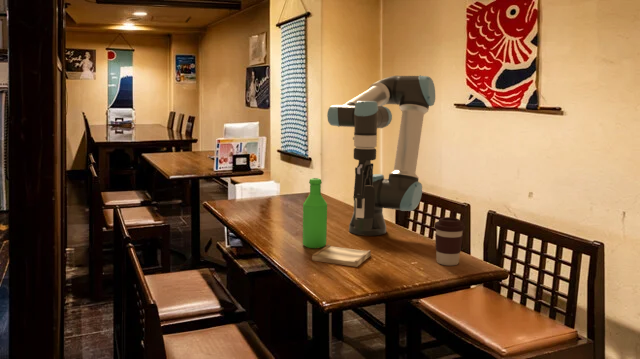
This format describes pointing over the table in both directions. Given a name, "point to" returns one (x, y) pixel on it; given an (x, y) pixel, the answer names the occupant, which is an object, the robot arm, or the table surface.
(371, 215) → the battery charger
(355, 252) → the board
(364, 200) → the robot arm
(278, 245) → the table surface
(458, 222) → the coffee cup
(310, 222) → the bottle
